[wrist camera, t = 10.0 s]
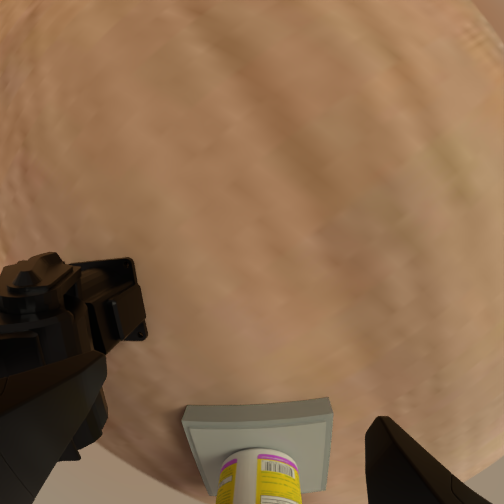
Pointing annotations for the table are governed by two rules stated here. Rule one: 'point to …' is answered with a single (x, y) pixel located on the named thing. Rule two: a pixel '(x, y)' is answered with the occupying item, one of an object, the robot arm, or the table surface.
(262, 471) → the supplement bottle
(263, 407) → the slate base
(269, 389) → the table surface
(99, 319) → the robot arm
